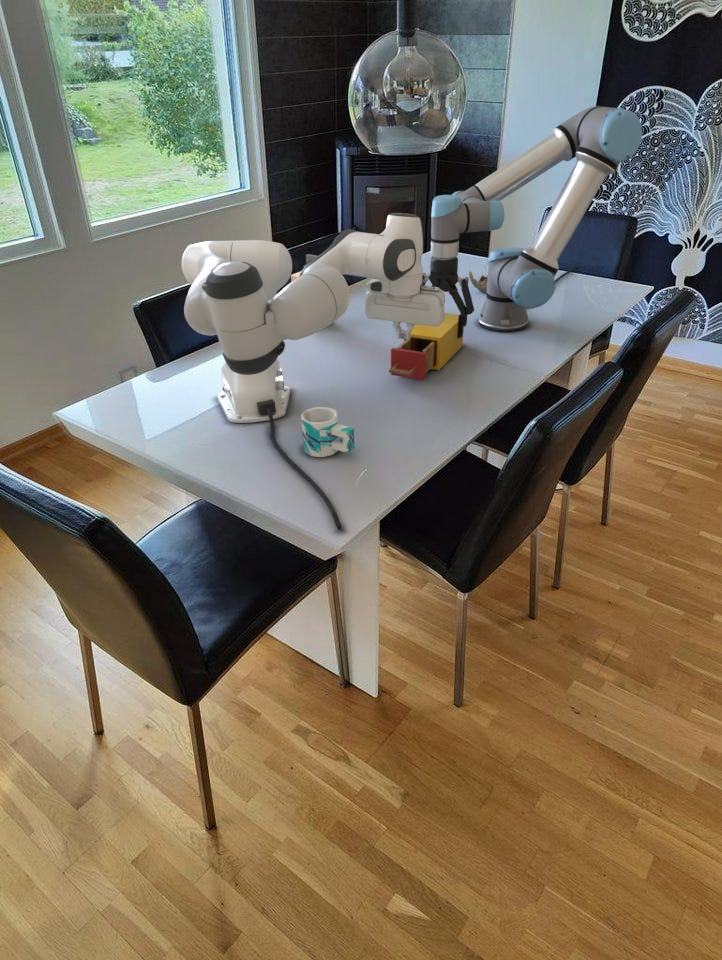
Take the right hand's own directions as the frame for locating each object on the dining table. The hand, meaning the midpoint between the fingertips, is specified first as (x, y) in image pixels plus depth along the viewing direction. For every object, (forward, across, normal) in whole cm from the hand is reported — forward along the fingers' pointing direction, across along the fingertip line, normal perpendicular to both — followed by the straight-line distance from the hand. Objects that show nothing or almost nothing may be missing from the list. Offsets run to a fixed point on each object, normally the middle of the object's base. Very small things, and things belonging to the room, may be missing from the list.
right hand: (441, 334), depth 195 cm
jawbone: (+4, +2, -56) cm, 56 cm away
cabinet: (+4, 0, +6) cm, 7 cm away
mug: (+5, +3, +66) cm, 66 cm away
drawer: (+3, 0, +20) cm, 20 cm away
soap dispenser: (+4, +44, -4) cm, 44 cm away
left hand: (-9, 0, +29) cm, 30 cm away
